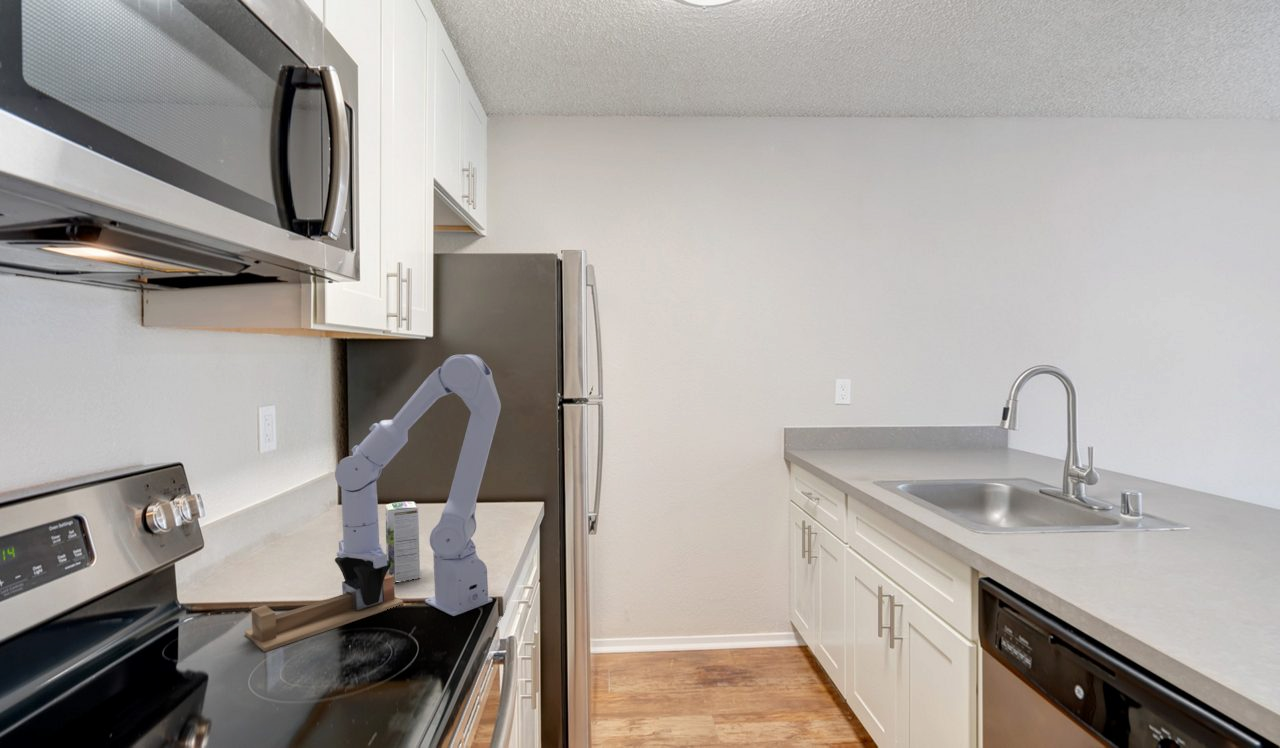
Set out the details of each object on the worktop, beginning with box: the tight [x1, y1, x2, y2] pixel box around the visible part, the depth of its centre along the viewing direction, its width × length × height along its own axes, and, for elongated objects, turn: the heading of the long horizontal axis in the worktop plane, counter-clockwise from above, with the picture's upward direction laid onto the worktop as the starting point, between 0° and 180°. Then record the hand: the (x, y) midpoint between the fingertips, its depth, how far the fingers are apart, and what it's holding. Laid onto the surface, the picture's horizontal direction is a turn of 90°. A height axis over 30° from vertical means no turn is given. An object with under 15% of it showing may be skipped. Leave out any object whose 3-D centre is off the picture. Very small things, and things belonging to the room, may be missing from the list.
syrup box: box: [385, 501, 421, 582], centre depth 122 cm, size 6×6×14 cm
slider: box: [341, 578, 383, 610], centre depth 108 cm, size 6×4×4 cm
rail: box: [244, 573, 404, 653], centre depth 104 cm, size 9×22×5 cm, turn 139°
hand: (364, 598), depth 108 cm, fingers closed on slider, 6 cm apart
